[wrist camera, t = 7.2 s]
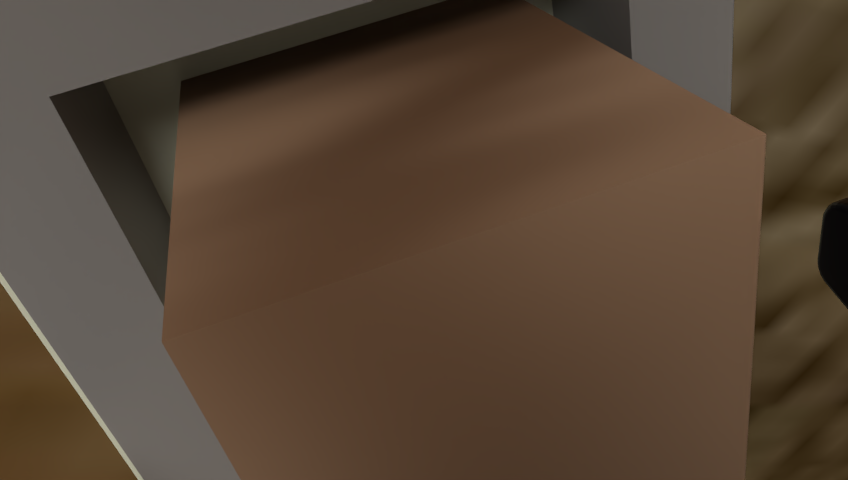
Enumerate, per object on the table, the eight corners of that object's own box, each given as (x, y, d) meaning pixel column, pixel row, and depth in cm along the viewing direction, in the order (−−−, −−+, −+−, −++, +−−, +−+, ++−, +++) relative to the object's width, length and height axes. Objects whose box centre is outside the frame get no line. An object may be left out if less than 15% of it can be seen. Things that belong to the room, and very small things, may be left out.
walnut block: (497, -16, 9) (766, 133, 5) (551, 338, 12) (736, 611, 8) (181, 81, 8) (162, 342, 4) (328, 420, 12) (399, 755, 7)
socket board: (687, -316, 8) (854, -363, 6) (689, 366, 14) (773, 459, 12) (-223, -82, 7) (-400, -39, 5) (202, 548, 13) (203, 686, 11)
